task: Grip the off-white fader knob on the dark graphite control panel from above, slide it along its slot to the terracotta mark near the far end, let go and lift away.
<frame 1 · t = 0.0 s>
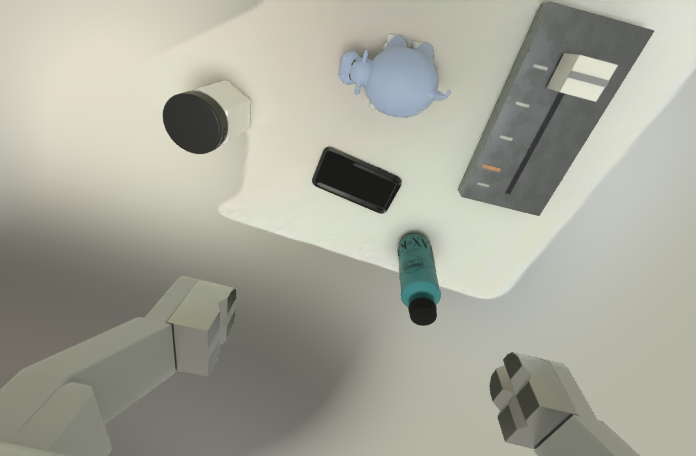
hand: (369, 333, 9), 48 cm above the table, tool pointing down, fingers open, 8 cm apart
fader panel: (535, 121, 51), on the table
fader knob: (580, 77, 42), point 5 cm above the table, slide at 0.0 cm
beverage bottle: (412, 242, 64), on the table
jar: (228, 108, 54), on the table
phone: (356, 179, 59), on the table
hippopotamus toy: (390, 75, 49), on the table
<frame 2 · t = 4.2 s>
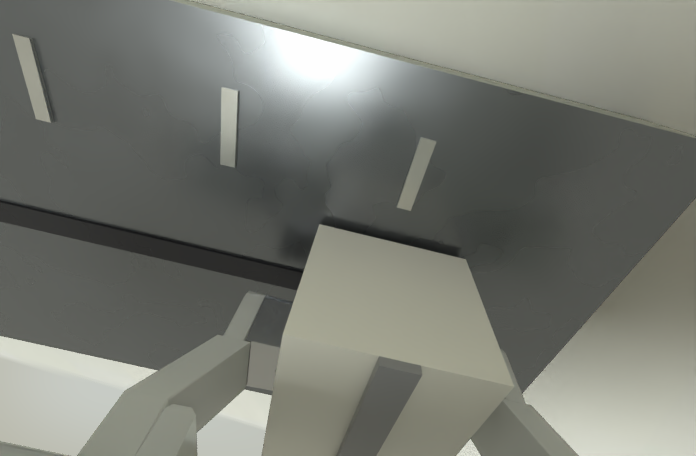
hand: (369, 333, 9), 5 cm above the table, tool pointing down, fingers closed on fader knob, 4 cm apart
fader panel: (208, 207, 13), on the table
fader knob: (369, 357, 9), point 5 cm above the table, slide at 0.0 cm, touching gripper
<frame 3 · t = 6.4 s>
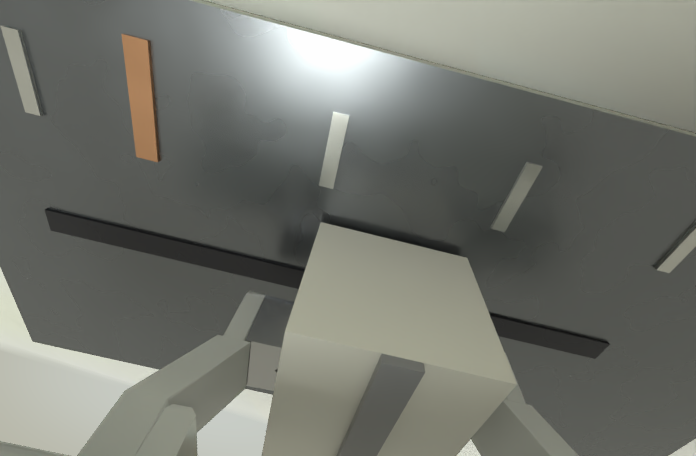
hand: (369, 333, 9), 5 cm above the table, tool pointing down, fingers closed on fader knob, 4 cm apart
fader panel: (390, 249, 13), on the table
fader knob: (370, 355, 9), point 5 cm above the table, slide at 7.7 cm, touching gripper
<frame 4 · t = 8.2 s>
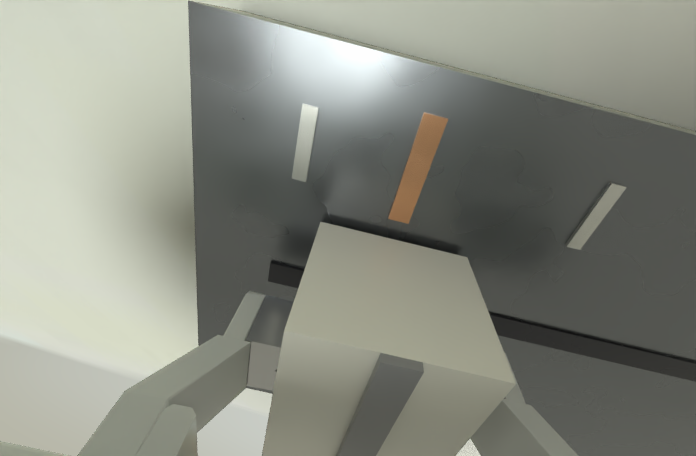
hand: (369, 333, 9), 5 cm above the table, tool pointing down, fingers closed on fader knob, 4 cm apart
fader panel: (554, 289, 14), on the table
fader knob: (370, 354, 9), point 5 cm above the table, slide at 15.0 cm, touching gripper
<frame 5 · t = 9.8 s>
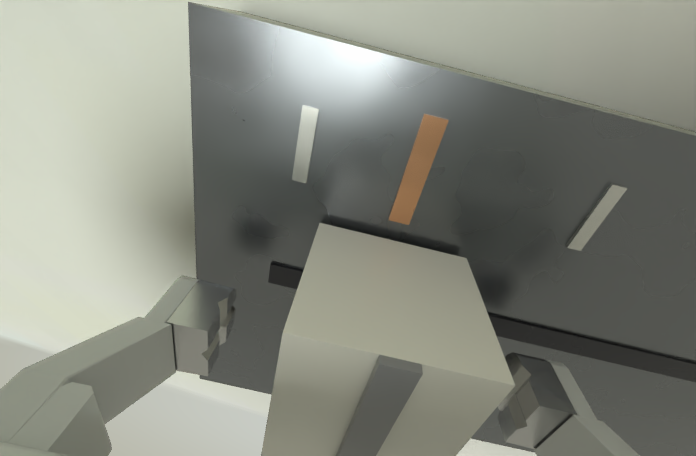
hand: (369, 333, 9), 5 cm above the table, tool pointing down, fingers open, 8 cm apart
fader panel: (555, 289, 14), on the table
fader knob: (369, 356, 9), point 5 cm above the table, slide at 15.0 cm
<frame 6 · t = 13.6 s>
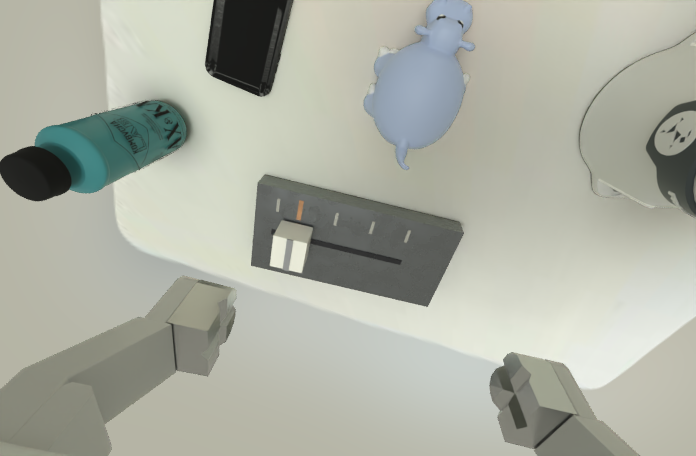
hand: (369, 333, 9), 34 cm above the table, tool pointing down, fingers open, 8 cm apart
fader panel: (351, 239, 48), on the table
fader knob: (291, 246, 44), point 5 cm above the table, slide at 15.0 cm
beverage bottle: (170, 122, 42), on the table
phone: (253, 16, 35), on the table
hippopotamus toy: (418, 79, 37), on the table
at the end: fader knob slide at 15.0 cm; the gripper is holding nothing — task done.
